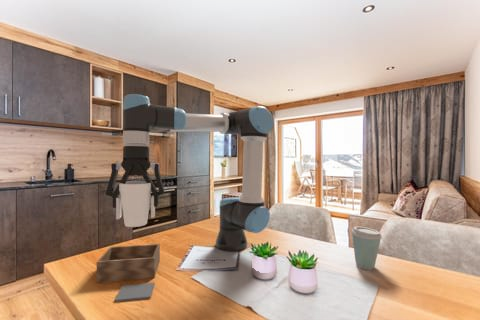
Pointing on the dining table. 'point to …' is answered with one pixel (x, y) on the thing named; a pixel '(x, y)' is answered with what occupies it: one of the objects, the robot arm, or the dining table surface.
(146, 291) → the mat
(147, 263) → the crate
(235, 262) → the dining table surface
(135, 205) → the foam cup
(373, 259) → the disposable coffee cup
